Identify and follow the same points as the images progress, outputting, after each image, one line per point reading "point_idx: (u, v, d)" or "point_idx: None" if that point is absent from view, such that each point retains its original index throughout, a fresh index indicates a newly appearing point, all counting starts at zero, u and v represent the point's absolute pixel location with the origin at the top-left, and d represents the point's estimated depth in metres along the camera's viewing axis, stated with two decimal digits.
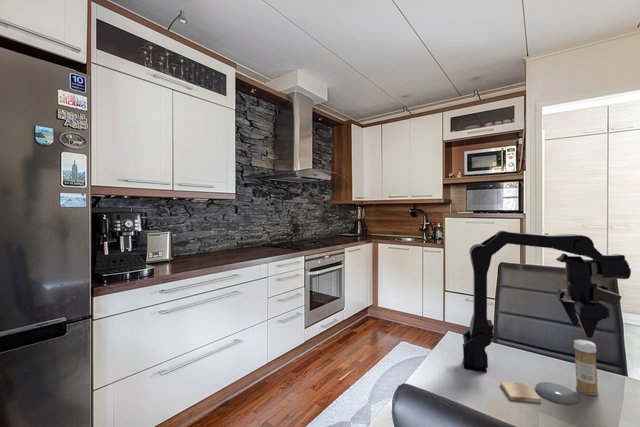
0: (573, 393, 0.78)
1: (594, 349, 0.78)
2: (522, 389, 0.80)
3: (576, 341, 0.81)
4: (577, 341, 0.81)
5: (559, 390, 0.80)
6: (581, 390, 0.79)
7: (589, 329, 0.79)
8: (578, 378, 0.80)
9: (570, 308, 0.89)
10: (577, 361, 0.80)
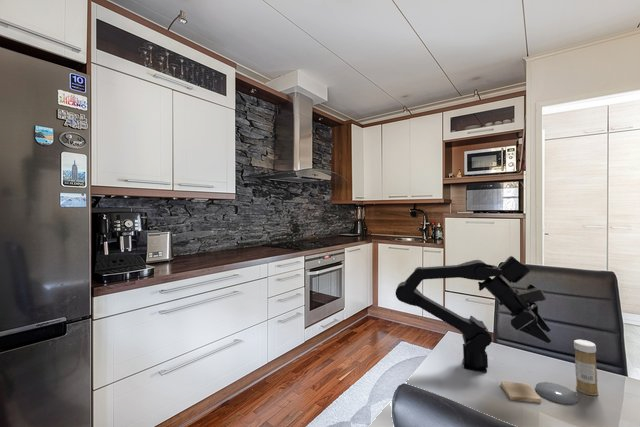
0: (573, 393, 0.78)
1: (594, 349, 0.78)
2: (522, 389, 0.80)
3: (576, 341, 0.81)
4: (577, 341, 0.81)
5: (559, 390, 0.80)
6: (581, 390, 0.79)
7: (540, 335, 0.81)
8: (578, 378, 0.80)
9: None
10: (577, 361, 0.80)
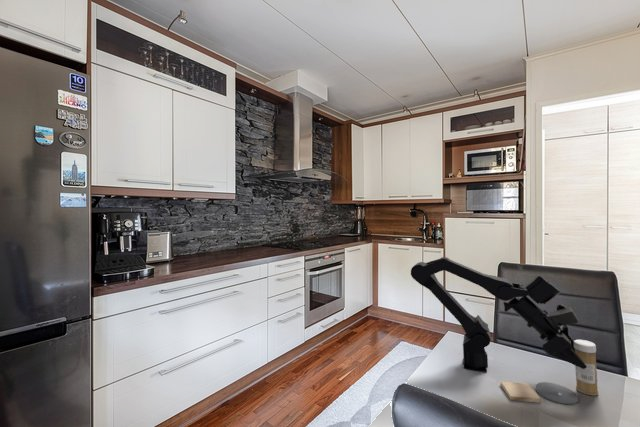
0: (573, 393, 0.78)
1: (594, 349, 0.78)
2: (522, 389, 0.80)
3: (576, 341, 0.81)
4: (577, 341, 0.81)
5: (559, 390, 0.80)
6: (581, 390, 0.79)
7: (575, 360, 0.77)
8: (578, 378, 0.80)
9: None
10: None
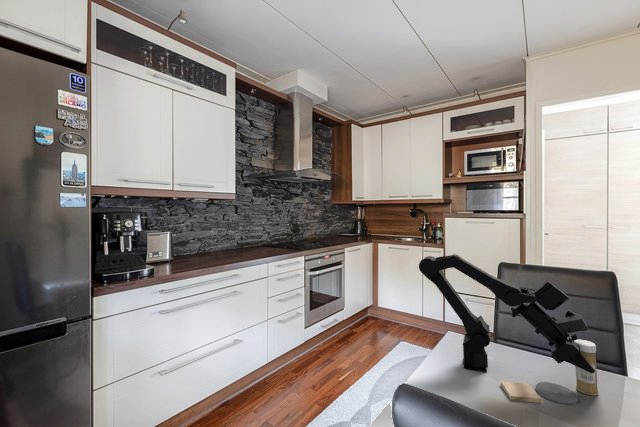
0: (573, 393, 0.78)
1: (594, 349, 0.78)
2: (522, 389, 0.80)
3: (576, 341, 0.81)
4: (577, 341, 0.81)
5: (559, 390, 0.80)
6: (581, 390, 0.79)
7: (583, 365, 0.78)
8: (578, 378, 0.80)
9: None
10: None
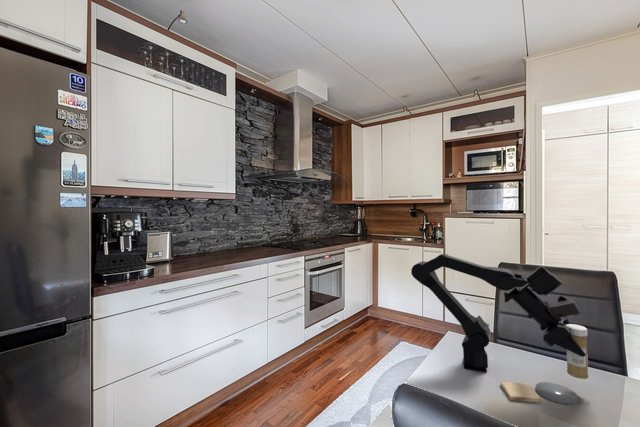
0: (573, 393, 0.78)
1: (585, 333, 0.78)
2: (522, 389, 0.80)
3: (568, 325, 0.81)
4: (569, 325, 0.81)
5: (559, 390, 0.80)
6: (571, 374, 0.79)
7: (574, 348, 0.78)
8: (569, 362, 0.80)
9: None
10: None
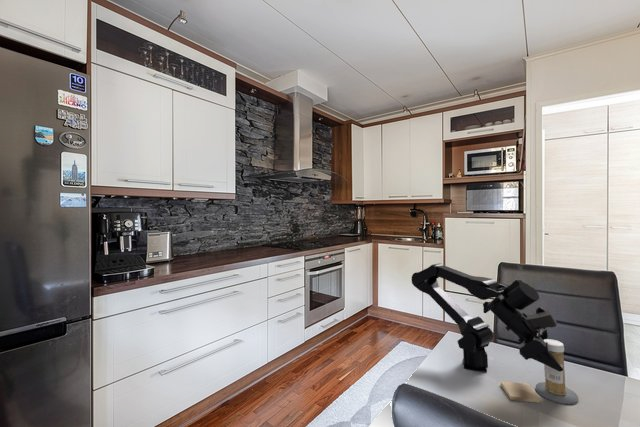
0: (573, 393, 0.78)
1: (562, 349, 0.77)
2: (522, 389, 0.80)
3: (545, 341, 0.80)
4: (546, 341, 0.80)
5: None
6: (549, 390, 0.79)
7: (551, 363, 0.76)
8: (547, 378, 0.79)
9: None
10: None
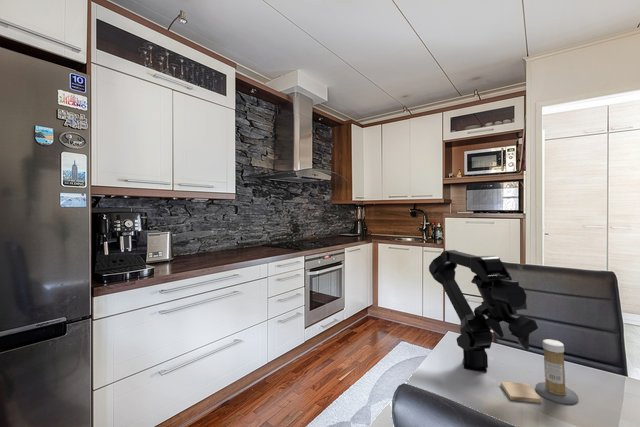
0: (573, 393, 0.78)
1: (562, 349, 0.77)
2: (522, 389, 0.80)
3: (545, 341, 0.80)
4: (546, 341, 0.80)
5: None
6: (549, 390, 0.79)
7: (525, 342, 0.82)
8: (547, 378, 0.79)
9: (492, 323, 0.92)
10: (546, 361, 0.79)
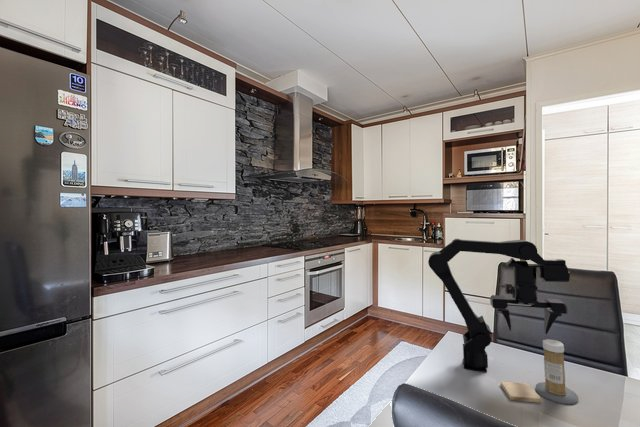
0: (573, 393, 0.78)
1: (562, 349, 0.77)
2: (522, 389, 0.80)
3: (545, 341, 0.80)
4: (546, 341, 0.80)
5: None
6: (549, 390, 0.79)
7: None
8: (547, 378, 0.79)
9: None
10: (546, 361, 0.79)
